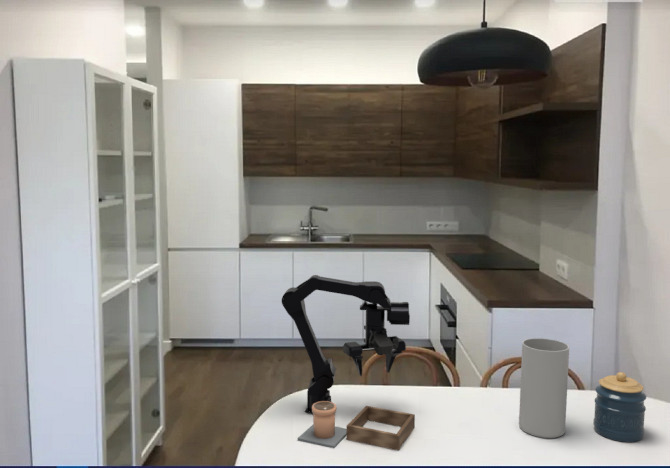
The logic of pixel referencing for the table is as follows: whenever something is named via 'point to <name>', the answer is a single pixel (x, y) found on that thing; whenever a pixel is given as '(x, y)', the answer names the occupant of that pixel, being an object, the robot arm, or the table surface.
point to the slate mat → (329, 442)
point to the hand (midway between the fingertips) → (374, 374)
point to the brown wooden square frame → (376, 436)
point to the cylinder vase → (543, 387)
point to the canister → (619, 408)
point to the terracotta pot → (324, 419)
